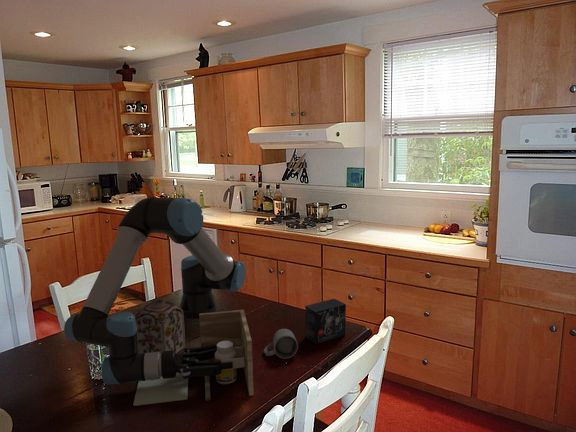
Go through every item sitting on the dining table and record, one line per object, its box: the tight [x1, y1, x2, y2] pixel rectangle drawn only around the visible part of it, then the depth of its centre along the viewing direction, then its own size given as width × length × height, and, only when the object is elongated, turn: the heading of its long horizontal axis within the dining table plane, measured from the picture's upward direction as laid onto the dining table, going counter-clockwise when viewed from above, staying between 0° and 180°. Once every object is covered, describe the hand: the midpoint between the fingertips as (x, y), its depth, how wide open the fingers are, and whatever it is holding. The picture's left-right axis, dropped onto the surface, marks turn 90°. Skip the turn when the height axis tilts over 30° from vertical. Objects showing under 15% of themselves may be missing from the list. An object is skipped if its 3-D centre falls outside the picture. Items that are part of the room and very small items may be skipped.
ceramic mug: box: [263, 328, 299, 360], centre depth 148 cm, size 11×8×8 cm
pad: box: [133, 373, 189, 406], centre depth 130 cm, size 16×14×1 cm
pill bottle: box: [215, 341, 238, 385], centre depth 132 cm, size 6×6×11 cm
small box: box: [304, 298, 347, 345], centre depth 159 cm, size 13×7×12 cm, turn 123°
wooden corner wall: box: [199, 309, 255, 402], centre depth 133 cm, size 23×14×16 cm, turn 11°
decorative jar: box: [134, 298, 186, 355], centre depth 149 cm, size 12×12×18 cm
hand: (243, 356), depth 133 cm, fingers closed on pill bottle, 6 cm apart
